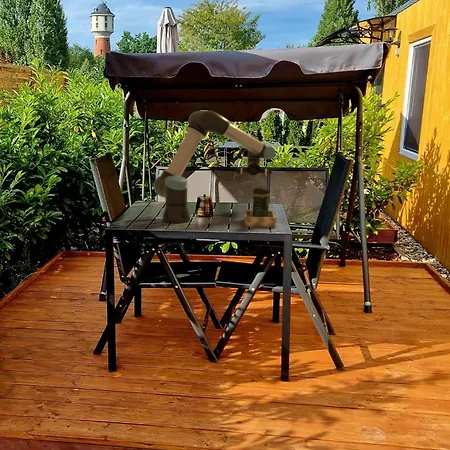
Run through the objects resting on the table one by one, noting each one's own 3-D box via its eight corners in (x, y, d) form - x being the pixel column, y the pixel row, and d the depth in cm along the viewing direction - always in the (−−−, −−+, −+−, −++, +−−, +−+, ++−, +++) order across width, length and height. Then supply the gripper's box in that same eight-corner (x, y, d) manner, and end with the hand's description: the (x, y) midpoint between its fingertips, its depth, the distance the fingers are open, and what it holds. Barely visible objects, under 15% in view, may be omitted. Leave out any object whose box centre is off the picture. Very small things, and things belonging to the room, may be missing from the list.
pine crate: (244, 226, 241) (244, 217, 240) (244, 218, 261) (244, 210, 260) (275, 227, 241) (276, 217, 240) (273, 219, 260) (273, 210, 259)
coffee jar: (264, 223, 245) (265, 188, 241) (250, 222, 248) (251, 187, 244) (270, 220, 253) (271, 186, 249) (257, 218, 257) (258, 185, 253)
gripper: (274, 175, 278) (276, 179, 257) (232, 174, 279) (230, 177, 258) (274, 163, 277) (276, 166, 256) (232, 161, 278) (231, 164, 257)
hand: (253, 171), depth 257 cm, fingers open, 13 cm apart
